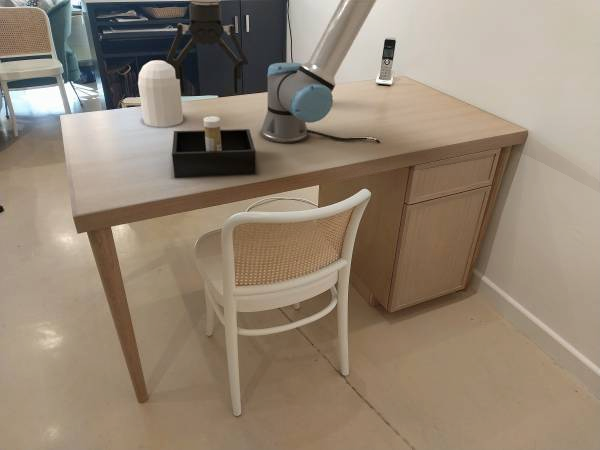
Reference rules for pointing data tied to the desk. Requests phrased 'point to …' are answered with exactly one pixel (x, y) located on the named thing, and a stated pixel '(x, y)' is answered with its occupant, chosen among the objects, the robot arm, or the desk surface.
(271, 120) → the robot arm
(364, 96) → the desk surface
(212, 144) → the sprinkles bottle
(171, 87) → the container
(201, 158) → the black open box
